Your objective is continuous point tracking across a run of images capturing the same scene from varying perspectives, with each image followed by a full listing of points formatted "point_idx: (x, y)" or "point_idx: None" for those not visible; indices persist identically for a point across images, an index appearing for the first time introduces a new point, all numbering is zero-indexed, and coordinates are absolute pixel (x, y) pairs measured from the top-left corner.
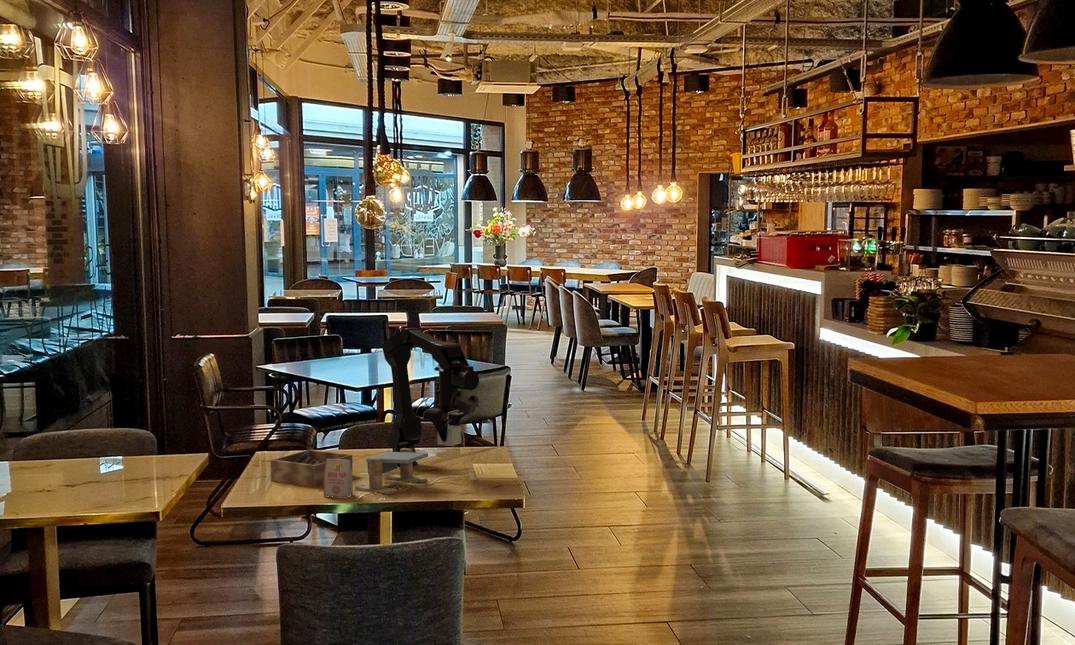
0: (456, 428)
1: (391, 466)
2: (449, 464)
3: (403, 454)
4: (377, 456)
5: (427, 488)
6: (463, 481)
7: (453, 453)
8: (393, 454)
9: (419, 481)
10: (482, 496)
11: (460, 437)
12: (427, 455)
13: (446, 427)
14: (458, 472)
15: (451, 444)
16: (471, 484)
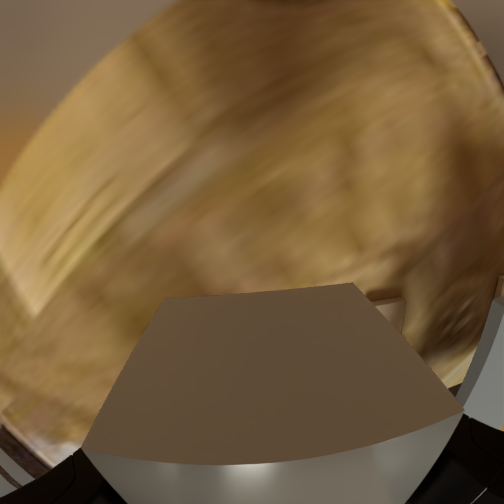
0: (285, 442)
1: (454, 396)
2: (94, 380)
3: (497, 386)
4: (495, 423)
5: (449, 224)
6: (293, 156)
7: (25, 413)
8: (483, 415)
9: (402, 305)
10: (422, 5)
11: (161, 330)
12: (499, 301)
13: (495, 451)
14: (158, 286)
15: (359, 294)
16: (320, 93)
